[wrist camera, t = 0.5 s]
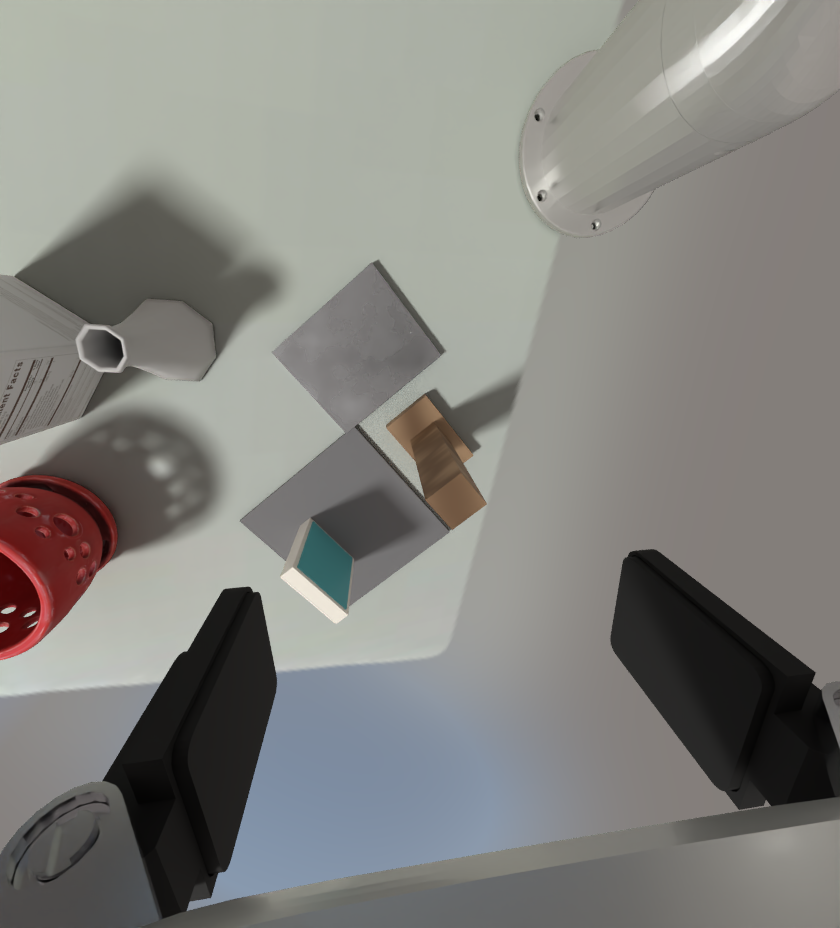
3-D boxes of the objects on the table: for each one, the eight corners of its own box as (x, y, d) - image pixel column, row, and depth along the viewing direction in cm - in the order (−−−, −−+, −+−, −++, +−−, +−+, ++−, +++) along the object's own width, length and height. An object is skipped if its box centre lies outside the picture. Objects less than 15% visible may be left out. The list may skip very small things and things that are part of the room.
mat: (354, 425, 39) (354, 426, 39) (448, 530, 44) (449, 532, 44) (241, 519, 41) (239, 521, 41) (343, 608, 47) (343, 610, 46)
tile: (311, 516, 42) (293, 566, 33) (355, 558, 44) (349, 614, 36) (300, 525, 42) (279, 577, 33) (344, 566, 44) (335, 624, 36)
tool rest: (371, 263, 34) (371, 262, 34) (440, 354, 38) (441, 355, 37) (273, 351, 36) (271, 352, 35) (346, 431, 39) (346, 433, 39)
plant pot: (71, 595, 43) (-39, 693, 31) (-38, 505, 38) (-212, 582, 27) (165, 537, 41) (85, 617, 30) (63, 437, 37) (-76, 487, 26)
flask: (226, 317, 35) (170, 316, 25) (208, 393, 37) (150, 418, 27) (139, 283, 33) (45, 269, 24) (125, 364, 35) (34, 380, 26)
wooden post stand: (424, 393, 39) (450, 435, 25) (470, 451, 41) (518, 519, 27) (386, 424, 39) (389, 483, 25) (434, 480, 42) (461, 561, 28)
